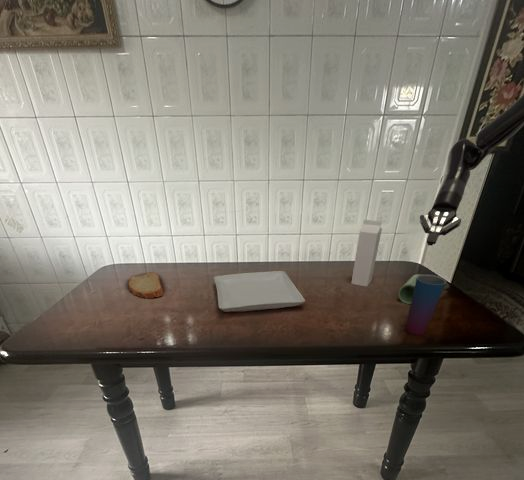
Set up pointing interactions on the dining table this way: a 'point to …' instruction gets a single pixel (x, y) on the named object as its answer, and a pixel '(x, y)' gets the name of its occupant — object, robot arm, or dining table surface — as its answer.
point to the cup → (424, 302)
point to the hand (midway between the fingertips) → (430, 244)
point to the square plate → (256, 291)
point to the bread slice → (146, 285)
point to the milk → (366, 252)
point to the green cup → (408, 290)
